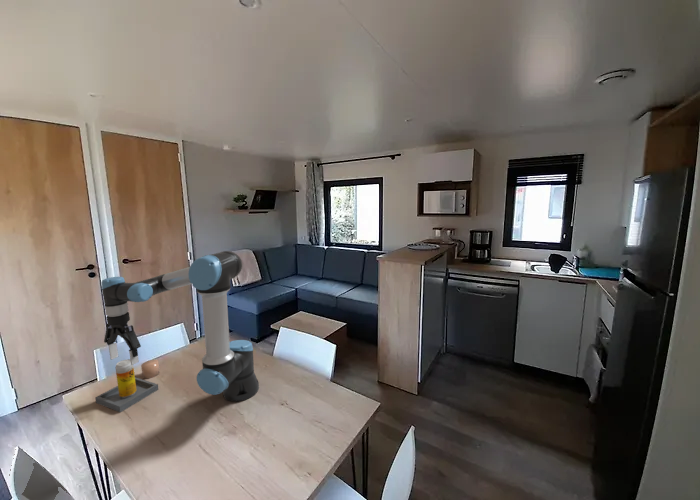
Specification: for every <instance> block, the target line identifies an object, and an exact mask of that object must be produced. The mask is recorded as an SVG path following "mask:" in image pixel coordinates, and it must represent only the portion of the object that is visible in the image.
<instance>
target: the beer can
mask: <svg viewBox="0 0 700 500" xmlns="http://www.w3.org/2000/svg"><path fill="white" fill-rule="evenodd" d="M115 374H116V375H115V376H116V383H117V386H118V390H119V396H120V397H122V398H127V397H130V396H132V395H133V394H134V393H135V392H136V382H135V377H136V376H135V375H136V374H135V368H134V365H131V361H130V358H129V359H123V360H120V361H118V362H117V363H116V364H115Z"/></svg>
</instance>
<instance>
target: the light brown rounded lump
mask: <svg viewBox="0 0 700 500" xmlns="http://www.w3.org/2000/svg"><path fill="white" fill-rule="evenodd" d="M140 366H141V374H142V378H143V380H147V379H152V378H155V377H157V376H158V375H160V365H159V360H158V359H151V360H146V361H145V362H143V363H141V365H140Z"/></svg>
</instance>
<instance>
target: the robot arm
mask: <svg viewBox="0 0 700 500" xmlns="http://www.w3.org/2000/svg"><path fill="white" fill-rule="evenodd" d="M242 270H243V262H242V259H241V257H240V256H239V255H238V253H236V252H233V251H229V250H226V251H220V252H216V253H212V254H207V255H206V254H205V255H203V256H202V257H198V258H196V259H195V260H194V261H193V262H192V263H191V264H190V266H188V267H185V268H181V269H178V270H175V271H171V272H167V273H165V274H160V275H157V276H155V277H151V278H146V279H144V280H143V279H142V280H140V281H136V282H126V281H125V278H124V277H123V276H110V277H107V278H103V279H102V280H101V291H102V296H103V297H102V298H103V303H104V311H105V316H106V324H105V327H106V330H105V334H104V339H103V340H104V341H103V342H104V344H106V345H107V346H108V352H109V356H110V357H109V358H110V360H114V359H116V358H118V357H119V352H118V344H117V338H118V336H119V337H120V338H121V339H123V340H124V342H125V344H126V345H127V346H128V348H129V350H128V352H129V353H128V354H129V359H130V361H131V365H133V366H134V365H136V364H138V363H139V361H140V360H139V351H138V349H139V348H141V347H142V345H141V342H140V340H139V339H138V337H137V336H138V335H136V332H135V330H134V326H133V325H132V324H131V325H128V322H129V321H130V320H131V316H130V312H129V303H128V302H132V303H133V302H134V303H144V302H147V301H149V299H151V298H152V297H154V296H155V295H159V294H162V293H165V292H168V291H172V290H176V289H178V288H182V287H186V286H189V285H192V287H193V288H195V289H196V292H197V293H198V294H199V295H200V296H201V301H202V315H203V329H204V343H205V354H204V355H203V357H202V359H201V361H202V362H201V363H202V369H200V370H199V371H198V373H197V375H196V384H197V385H198V387H199V389H200V390H202V391H203V392H205V393H206V394H208V395H211V396H213V395H214V396H215V395H220V394H223V395H222V396H223V398H224V400H227V401H229V402H242V401H246V400H248V399H251V398H252V397H254V396H255V395H256V394H257V393H258V391H259V389H260V385H259V384H260V382H259V379H257V376H256V373H255V368H254V367H255V366H254V346H253V343H252V342H251V341H249V340H246V339H236V340H231V341H230V330H229V328H230V327H229V310H228V296H227V295H228V292H229V291H230V290H231V280H233V279H234V278H236V277H237V276H238V275H240V274H241V272H242Z"/></svg>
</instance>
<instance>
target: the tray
mask: <svg viewBox="0 0 700 500" xmlns="http://www.w3.org/2000/svg"><path fill="white" fill-rule="evenodd" d="M135 382H136V392H135V393H134V394H133V395H132V396H130V397H127V398H122V397H120V396H119V390H118V385H116V386H115V387H113V388H111V389H109V390H107V391H105V392H102V393H101V394H99V395H96V396H95V403H96V404H98V405H100V406H103V407H105V408H108V409H111V410H112V411H115V412H118V413H122V412H123V411H124V412H125V410H127V409H128V408H130V407H132V406H134V405H135V404H137V403H139V402H140V401H142V400H143V399H145V398H146V397H148V396H150V395H152V394H154V393H155V392H157V391H159V390H160V389H159V384H158V383H155V382H153V381H149V380H147V379H144V378H143V379H142V378H140V377H139V378H138V377H136V376H135Z"/></svg>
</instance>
